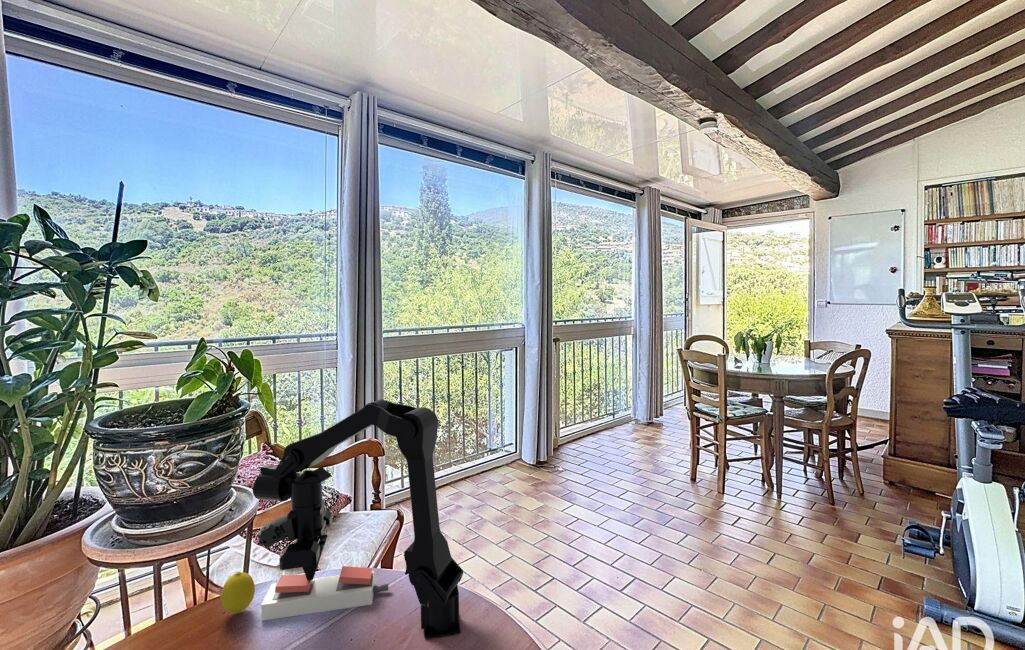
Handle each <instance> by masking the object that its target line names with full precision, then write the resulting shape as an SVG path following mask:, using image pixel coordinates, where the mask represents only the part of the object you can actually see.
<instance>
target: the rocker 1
mask: <svg viewBox="0 0 1025 650" xmlns="http://www.w3.org/2000/svg"><path fill="white" fill-rule="evenodd" d="M276 583H277V585H276V587H275V593H285V592H308V591H309V588H310V586H311V583H312V580H307V578H306V576H305V573H304V574H281V575H280V577H279V579H278V581H277V582H276Z"/></svg>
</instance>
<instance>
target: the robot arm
mask: <svg viewBox="0 0 1025 650" xmlns="http://www.w3.org/2000/svg"><path fill="white" fill-rule="evenodd" d="M372 426H375V427H377V428H378V429H379V430H381V431H382V432H383V433H384V434H385V435H388V436H392V437H395V439H396V443H397V448H398V449H399V451H400V452H401V454H402V456H403V457H404V459H405V461H406V464H407V475H408V486H409V493H410V494H409V495H410V505H411V514H412V517H411V518H412V525H413V526H412V527H413V535H414V537H413V538H414V539H413V541H412V543H411V544H409V546H408V547H407V548H406V549H405V550H404V552H403V556H404V561H405V562H404V563H405V572H404V575H405V576H407V575H408V579H409V583H410V584H411V586H413V587H414V591H415V594H416V596H417V599H418V603H419V605H420V629H421V630H423V638H424V639H426V640H427V639H433V638H440V637H445V636H452V635H458V634H460V633H461V632H462V628H461V621H460V592H459V587H458V584H459V583H460V582H461V580H462V578H463V576H464V570H463V569H462V567H461V566H460V565H459V564H458V563H457V562H456V560H454V558H453V557H452V553H451V551H450V548H449V544H448V540H447V539H446V538H445V536H444V535H443V533H442V532H441V528H440V517H439V509H438V508H439V507H438V499H437V498H438V497H437V488H436V478H435V467H434V452H435V451H434V450H435V447H436V443H437V440H438V428H439V420H438V416H437V414H436V413H435V412H434V411H432V409H430V408H428V407H425V406H422V407H415V406H412V405H406V404H402V403H396V402H391V401H390V400H386V399H381V398H380V399H378V400H375V401H371V402H368V403H366V404H365V405H364V406H363V407H362V408H360V409H358V410H357V411H355V412H354V413H352V414H350V415H348V416H347V417H345V418H343V419H342V420H340V421H338V422H337V423H335V424H334V425H332V426H330V427H328V428H327V429H325V430H322V432H319V433H316V434H312V435H310V436H307V437H304V438H302V439H300V440H297V441H294V442H291V443H289V444H288V445H286V446H285V447H284V449H283V456H282V458H281V460H280V461H279V463H278V464H277V465H274V464H269V463H268V464H266V465H264V466H263V465H262V466H261V467H260V469H259V470H260V473H259V474H258V475H257V476H256V478H255V479H254V482H253V486H252V494H253V497H254V498H255V499H257V500H261V501H264V500H265V501H272V502H273V501H275V502H286V501H288V500H289V499H290V508H291V509H290V510H289V512H288V514H285V515H282V516H280V517H278V518H276V519H274V520H272V521H269V522H267V523H266V524H264V526H262V527H261V529H260V531H259V532H258V544H259V545H262V546H263V547H264V548H265V549H268V548H270V547H272V545H274V544H275V545H276V544H277V543H279V542H281V541H283V540H285V539H286V541H287V542H291V541H292V542H293V541H295V542H294V543H289V544H288V545H287V546H286V547H285V548H284V550H283V552H282V554H281V555H280V557H279V569H280V570H282V571H284V570H292V569H299V568H302V570H303V572H304V574H305V576H306V578H307V580H313V578H315V575H316V572H317V568H318V566H319V562H320V559H321V556H322V554H323V552H324V548H325V545H326V542H327V539H328V534H323V533H324V530H325V528H326V527H328V528H331V526H332V524H333V513H332V512H331V511H330V510H329V509H324V508H325V505H326V502H325V500H323V485H322V483H323V482H325V481H326V480H328V479H330V478H331V477H332V474H331V473H330V472H329V471H328V470H326V469H324V467H323V466H320V467H318V468H316V469H315V470H314V469H313V470H312V469H309V468H311V467H313V466H315V465H318V464H319V463H322V462H323V461H324V460H325V459H326V458H328V457H329V456H330V455H331V454H332V453H333V452H334V450H335V449H336V448H337V447H338V446H340V445H341V444H344V442H346V441H348V440H350V439H352V438H353V437H355V436H357V435H358V434H360V433H362V432H363V431H365V430H367V429H369V428H371V427H372Z"/></svg>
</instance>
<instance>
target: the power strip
mask: <svg viewBox="0 0 1025 650" xmlns="http://www.w3.org/2000/svg"><path fill="white" fill-rule="evenodd" d="M339 578H340V574H337V575H329V576H322V577H314V578H313V580H312V583H311V586H310V588H309V591H308V592H285V593H275V587H276V585H277V583H278V582H276V583H275V582H274V583H271V584H270V587H269V588H268V591H267V593H266V595H265V597H264V598H263V600H262V602H261V604H260V608H261V609H260V610H261V620H260V621H262V622H263V621H267V620H276V619H281V618H288V617H294V616H295V617H296V616H303V615H309V614H316V613H323V612H329V611H337V610H344V609H351V608H356V607H357V608H358V607H364V606H370V605H373V599H374V594H375V593H380V592H388V591H389V583H384V584H377V585H375V570H372V573H371V579H370V584H369V585H366V584H350V583H339Z"/></svg>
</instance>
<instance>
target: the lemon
mask: <svg viewBox="0 0 1025 650" xmlns="http://www.w3.org/2000/svg"><path fill="white" fill-rule="evenodd" d="M255 591H256V585H255V582H254V580H253V577H252V575H250V574H249V573H247V572H243V571H242V572H241V571H237V572H236V573H234V574H232V575H231V576H229V578H227V579H226V581H225V582H224V585H223V586H222V589H221V598H220V600H221V604H222V607H223V608H224V610H225V611H227V612H228V613H232V614H234V613H235V614H237V615H239V614H241V613H242V612H243V611H245V610H246V609H247V608H248V607H249V606H250V605H251V603H252V601H253V599H254V598H255V597H254V596H255Z"/></svg>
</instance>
